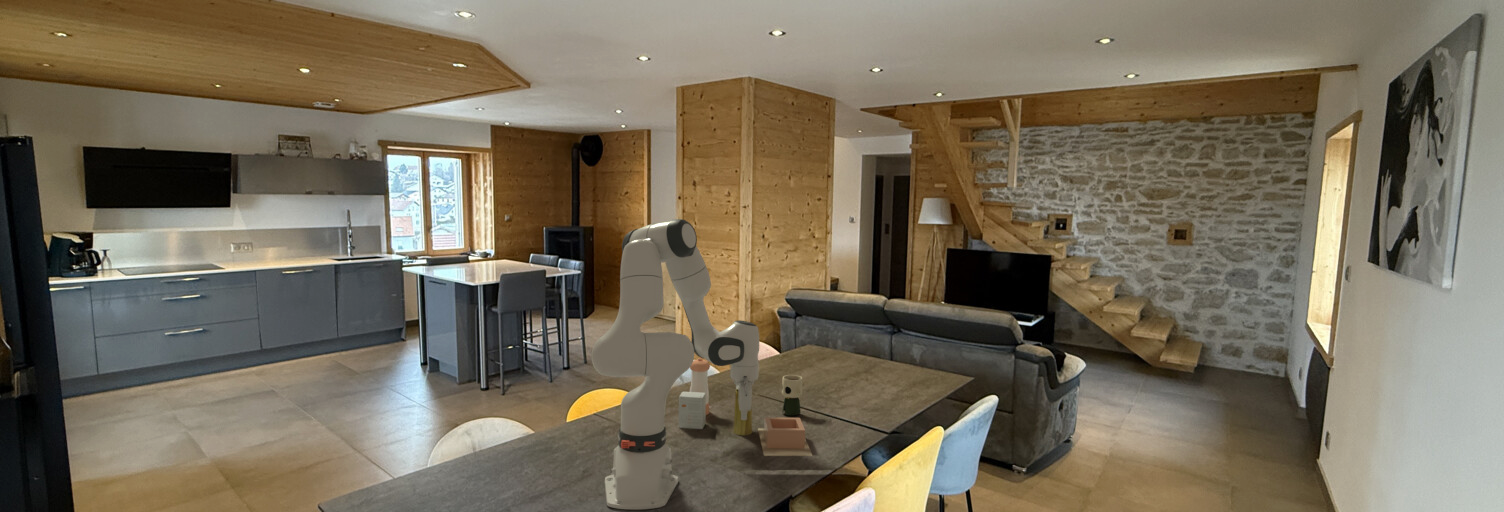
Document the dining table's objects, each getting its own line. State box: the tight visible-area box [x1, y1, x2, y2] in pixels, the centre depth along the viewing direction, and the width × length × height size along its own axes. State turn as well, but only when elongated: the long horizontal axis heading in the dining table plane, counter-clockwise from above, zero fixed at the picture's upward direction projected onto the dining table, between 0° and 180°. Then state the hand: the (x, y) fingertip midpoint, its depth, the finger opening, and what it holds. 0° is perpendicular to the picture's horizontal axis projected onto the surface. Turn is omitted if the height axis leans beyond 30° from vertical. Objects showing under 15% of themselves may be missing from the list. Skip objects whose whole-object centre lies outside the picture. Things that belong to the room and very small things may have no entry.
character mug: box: [781, 374, 804, 416], centre depth 224 cm, size 11×7×13 cm, turn 30°
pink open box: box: [763, 417, 806, 448], centre depth 196 cm, size 11×11×6 cm
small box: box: [678, 391, 707, 430], centre depth 210 cm, size 8×6×10 cm
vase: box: [733, 388, 753, 436], centre depth 203 cm, size 6×6×14 cm
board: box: [757, 428, 813, 457], centre depth 196 cm, size 22×14×1 cm, turn 4°
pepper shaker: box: [689, 357, 711, 416], centre depth 223 cm, size 7×7×19 cm
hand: (743, 415), depth 203 cm, fingers closed on vase, 5 cm apart
